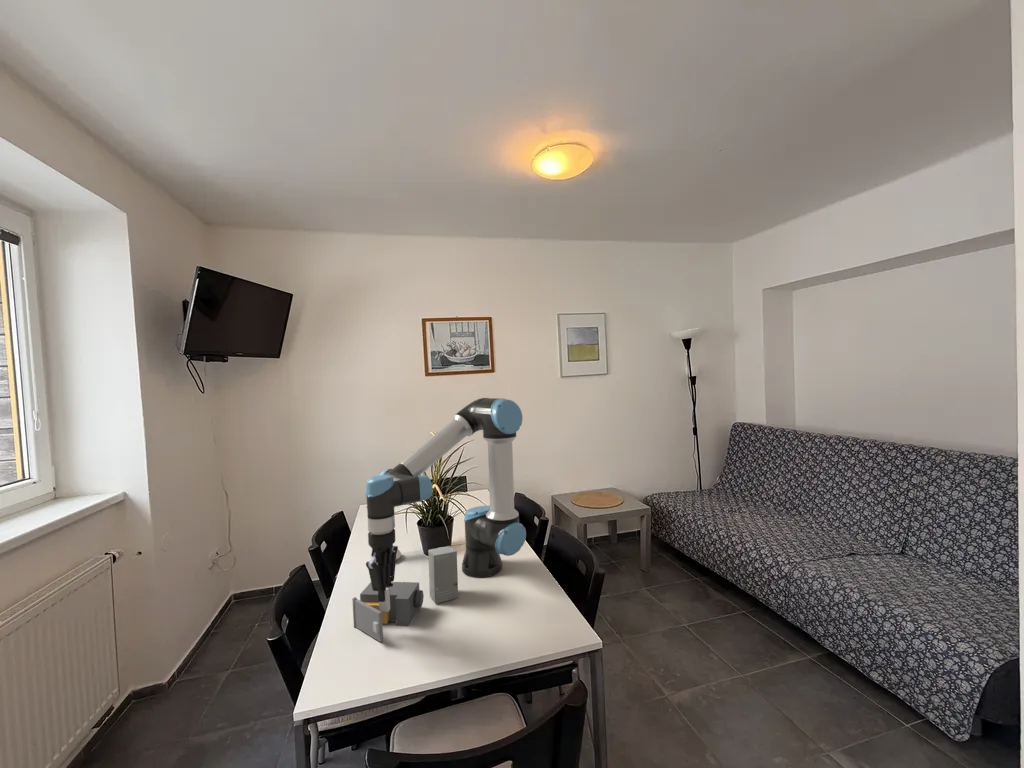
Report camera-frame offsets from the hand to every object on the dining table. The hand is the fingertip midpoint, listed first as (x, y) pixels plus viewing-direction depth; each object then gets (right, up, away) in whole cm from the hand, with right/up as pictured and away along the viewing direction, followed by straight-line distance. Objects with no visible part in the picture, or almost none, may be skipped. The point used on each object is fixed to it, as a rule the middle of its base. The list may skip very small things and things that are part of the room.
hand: (384, 610), depth 128 cm
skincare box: (+14, -5, +19) cm, 24 cm away
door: (-4, -6, -1) cm, 8 cm away
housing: (0, -6, +8) cm, 10 cm away
